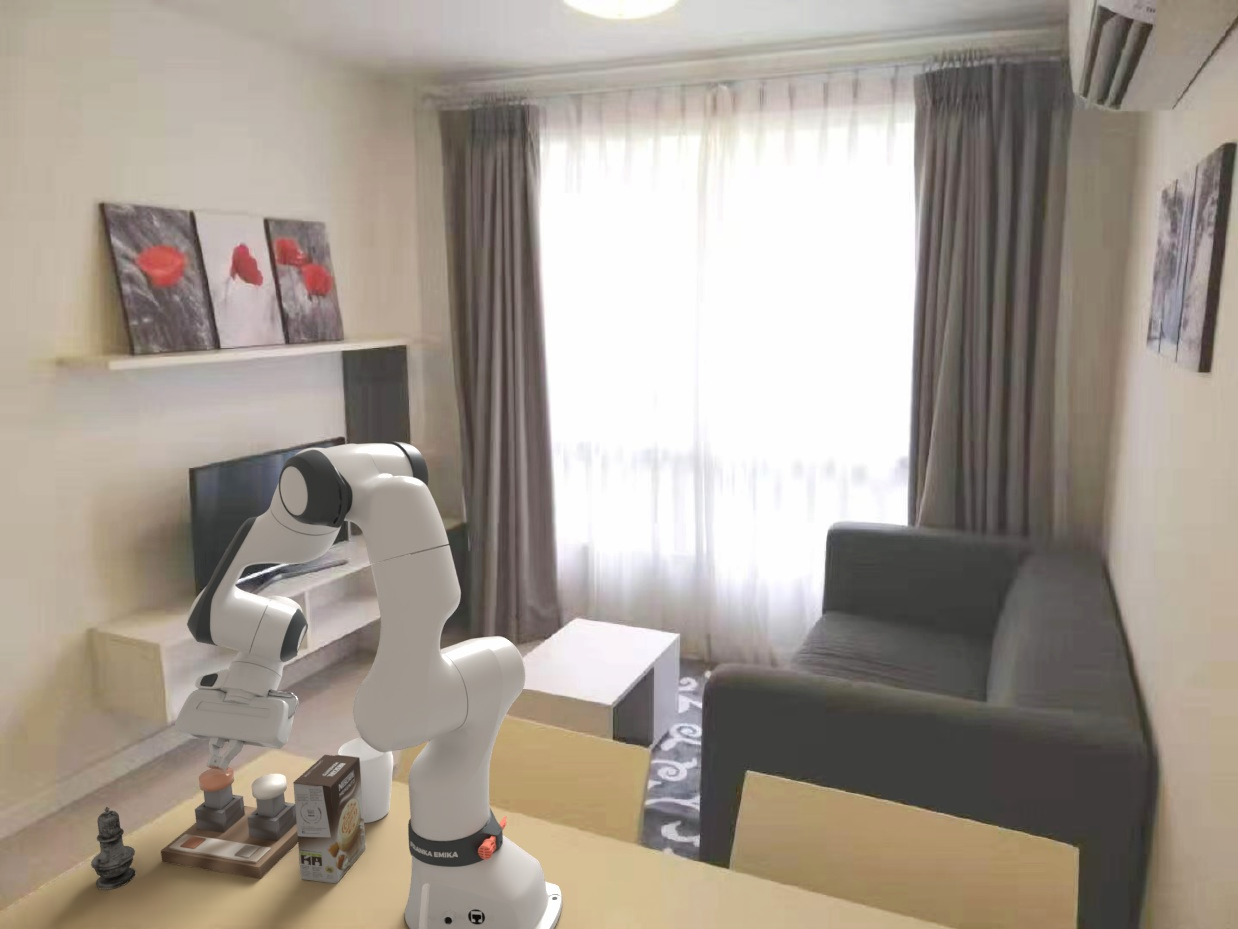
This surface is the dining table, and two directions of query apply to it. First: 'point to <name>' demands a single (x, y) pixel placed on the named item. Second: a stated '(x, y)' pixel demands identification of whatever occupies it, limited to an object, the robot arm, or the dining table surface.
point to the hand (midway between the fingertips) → (216, 768)
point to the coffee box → (329, 818)
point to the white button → (269, 794)
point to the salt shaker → (112, 853)
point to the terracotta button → (217, 787)
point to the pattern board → (234, 840)
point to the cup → (372, 777)
